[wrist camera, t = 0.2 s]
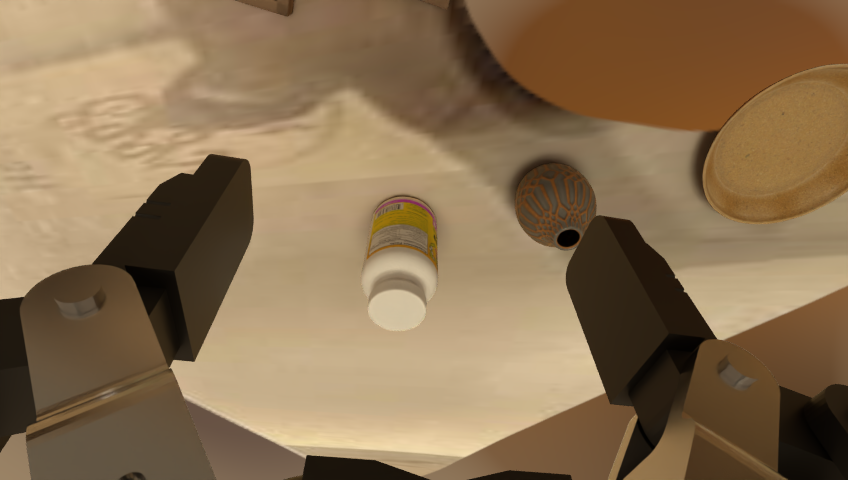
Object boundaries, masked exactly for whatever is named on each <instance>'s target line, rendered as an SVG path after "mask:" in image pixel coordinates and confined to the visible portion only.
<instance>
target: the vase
mask: <svg viewBox="0 0 848 480" xmlns="http://www.w3.org/2000/svg"><path fill="white" fill-rule="evenodd" d="M515 211H516V215H517V219H518V221H519V223H520V225H521V227H522V228H523V230H524V231H525V232H526V233H527V234H528V235H529V236H530V237H531V238H532V239H533V240H535V241H536V242H538V243H540V244H542V245H545V246H549V247H556V248H558V249H560V250H572V249H574V248H576V247H577V246H578V245H579V243H580V241H581V239H582V237H583V235H584V233H585V231H586V229H587V228H588V226H589V224H590V222H591V221H592V219H593V218H594V217H596V198H595V194H594V191H593V189H592V187H591V185H590V184H589V182H588V181H587V180H586V178H585V177H584V176H583V175H582V174H581V173H580V172H578V171H577V170H575V169H574V168H572V167H569V166H567V165H563V164H557V163H550V164H545V165H541V166H539V167H536V168H535V169H533V170H531V171H530V172H529V173H528V174H527V175H526V176H525V177H524V178H523V179H522V181H521V182H520V184H519V186H518V188H517V191H516V195H515Z"/></svg>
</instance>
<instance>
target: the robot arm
mask: <svg viewBox="0 0 848 480" xmlns="http://www.w3.org/2000/svg"><path fill="white" fill-rule="evenodd" d="M253 221H254V217H253V200H252V184H251V169H250V164H249V161H248V160H246V159H240V158H234V157H227V156H221V155H215V154H210V155H208V156H207V158H206V159H205V160H204V161H203V163H202V164H201V165H200V167H199V168H198V169H197V171H196V172H195V173H194V175H192V174H185V173H180V174H178V175H177V176H175V177H173V178H171V179H169V180H167V181H165V182H163V183H162V184H160V185H159V186H158V187H157V188H156V189H155V191H154V192H153V193H152V194H151V195H150V196H149V198H148V199H147V202H146V203H144V204H143V205H142V206H141V207H140V208H139V209H138V211H137V212H136V215H135V216H132V218H131V219H130V220H129V221H128V222H127V224H126V225H125V226H124V227H123V228H122V229H121V231H120V232H119V233H118V234H117V235H116V236H115V238H114V239H113V240H112V241H111V242H110V243H109V245H108V246H107V247H106V248H105V249H104V251H103V252H102V253H101V254H100V255H99V256H98V258H97V259H96V260H95V261H94V262H93V263H92V265H82V266H77V267H72V268H69V269H66V270H63V271H60V272H57V273H55V274H53V275H51V276H49V277H47V278H45V279H44V280H42V281H40V282H39V283H37V284H36V285H35V286H34V287H33V288H32V289H31V290H30V291H29V292H28V293H27V294H26V295H25V297H20V298H11V299H2V300H0V452H1V450H2V449H3V447H4V446H5V444H6V443H7V441H8V440H9V438H10V437H11V435H14V434H19V433H24V432H26V446H27V453H28V461H29V468H30V475H31V480H216V477H215V475H214V472H213V470H212V467H211V465H210V462H209V460H208V457H207V456H206V452H205V450H204V448H203V445H202V442H201V440H200V437H199V435H198V432H197V430H196V428H195V425H194V422H193V420H192V417H191V415H190V412H189V410H188V407H187V405H186V402H185V400H184V397H183V395H182V392H181V390H180V387H179V385H178V382H177V380H176V378H175V375H174V373H173V371H172V369H171V368H170V369H169V367H170V365H171V364H172V362H173V360H182V361H192V362H195V359H196V357H197V355H198V353H199V351H200V349H201V346H202V344H203V342H204V340H205V338H206V336H207V333H208V331H209V329H210V327H211V325H212V323H213V321H214V318H215V316H216V314H217V312H218V310H219V308H220V305H221V303H222V301H223V299H224V297H225V295H226V293H227V290H228V288H229V286H230V284H231V282H232V280H233V277H234V275H235V273H236V271H237V269H238V267H239V265H240V262H241V260H242V258H243V256H244V254H245V252H246V249H247V247H248V245H249V243H250V240H251V236H252V231H253ZM566 285H567V289H568V291H569V294H570V297H571V300H572V302H573V305H574V308H575V310H576V313H577V316H578V318H579V321H580V324H581V326H582V329H583V332H584V335H585V337H586V340H587V343H588V345H589V348H590V351H591V353H592V356H593V359H594V361H595V364H596V367H597V370H598V372H599V375H600V378H601V380H602V383H603V386H604V388H605V391H606V394H607V396H608V399H609V402H610V404H614V405H624V406H634V409H635V411H636V415H635V416H634V417H633V419H632V420H631V421H630V422H629V424H628V427H627V430H626V432H625V435H624V438H623V440H622V443H621V446H620V448H619V451H618V454H617V457H616V459H615V462H614V465H613V467H612V470H611V473H610V476H609V478H608V480H848V386H846V385H840V384H835V385H830V386H828V387H827V388H826V389H824V390H823V391H822V392H820V393H819V394H818V395H816V396H815V397H813V398H811V397H808V396H805V395H803V394H800V393H797V392H795V391H792V390H789V389H787V388H784V387H781V386H779V385H778V383H777V381H776V380H775V378H774V376H773V375H772V373H771V372H770V371H769V370H768V369H767V367H766V366H765V365H764V364H763V363H762V362H761V361H759V360H758V359H757V358H756V357H755V356H753V355H752V354H751V353H749V352H748V351H746V350H744V349H743V348H741V347H739V346H737V345H735V344H732V343H730V342H727V341H723V340H718V339H717V338H716V337H715V335H714V334H713V332H712V331H711V329H710V327H709V326H708V324H707V323H706V321H705V320H704V318H703V317H702V315H701V314H700V312H699V311H698V309H697V308H696V306H695V305H694V303H693V302H692V300H691V299H690V297H689V296H688V294H687V293H686V292H684V288H683V286H682V285H681V283H680V282H679V280H678V279H676V278H675V274H674V273H673V271H672V270H671V268H670V267H669V265H668V264H667V262H666V261H665V259H664V258H663V257H662V256H661V255H659V254H658V253H657V252H656V251H655V250H654V249H653V248H652V247H650V246H649V245H648V244H647V243H645V241H644V240H643V238H642V236H641V235H640V233H639V232H638V230H637V229H636V227H635V225H634V224H633V223H632V222H631V221H630V220H626V219H620V218H613V217H607V216H596V217H594V218H593V219H592V221H591V222H590V224H589V226H588V228H587V229H586V231H585V233H584V235H583V237H582V239H581V241H580V243H579V245H578V246H577V248H576V250H575V252H574V254H573V256H572V258H571V260H570V262H569V264H568V267H567V271H566ZM285 480H429V479H426V478H424V477H421V476H418V475H415V474H412V473H410V472H407V471H404V470H401V469H398V468H396V467H393V466H390V465H387V464H384V463H381V462H379V461H376V460H364V459H351V458H337V457H324V456H311V455H307V456H306V462H305V467H304V472H303V475H301V476H296V477H292V478H288V479H285ZM469 480H572V479H571V475H565V474H551V473H538V472H525V471H511V470H509V471H504V472H500V473H496V474H491V475H487V476H482V477H478V478H474V479H469Z"/></svg>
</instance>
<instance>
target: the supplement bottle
mask: <svg viewBox="0 0 848 480" xmlns="http://www.w3.org/2000/svg"><path fill="white" fill-rule="evenodd" d="M437 285H438V265H437V226H436V219H435V216H434V214H433V212H432V210H431V209H430V208H429V207H428V206H427V205H426V204H425V203H423V202H422V201H420V200H418V199H415V198H411V197H395V198H391V199H389V200H387V201H385V202H383V203H382V204H381V205H380V206H379V207H378V208H377V209H376V210H375V212H374V214H373V217H372V220H371V226H370V231H369V236H368V242H367V247H366V252H365V258H364V263H363V268H362V272H361V286H362V289H363V291H364V293H365V295H366V297H367V298H368V299H369V301H368V314H369V316H370V318H371V320H372V321H373V322H374V323H375V324H377V325H378V326H380V327H382V328H384V329H387V330H392V331H404V330H409V329H412V328H414V327H416V326H418V325H419V324H420V323H421V322H422V321H423V320H424V318H425V315H426V305H427V302H428V301H429V300H430V299H431V298H432V297H433V295H434V293H435V291H436V289H437Z"/></svg>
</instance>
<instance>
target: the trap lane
mask: <svg viewBox="0 0 848 480" xmlns="http://www.w3.org/2000/svg"><path fill="white" fill-rule="evenodd" d="M236 1H239V2H242V3H245V4H248V5H252V6H255V7H258V8H261V9H265V10H268V11H271V12H274V13H277V14H281V15H284V16H289V15H290V14H292V12H293V2H294V0H236ZM420 1H423V2H426V3H429V4H432V5H435V6H438V7H441V8H444V9H447V8H448V4H449V1H450V0H420Z"/></svg>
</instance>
